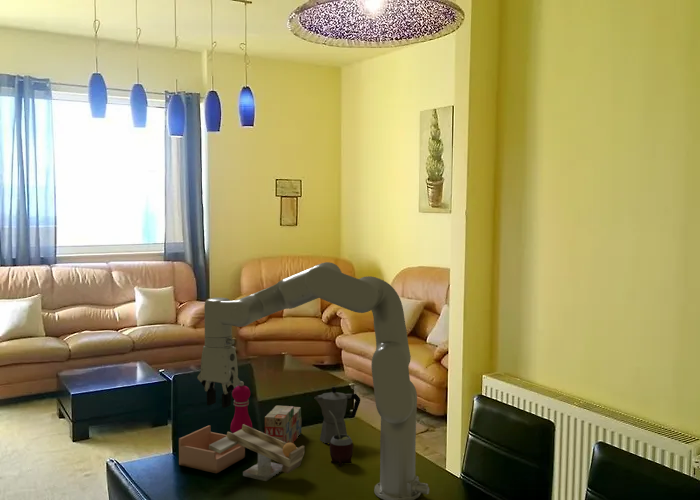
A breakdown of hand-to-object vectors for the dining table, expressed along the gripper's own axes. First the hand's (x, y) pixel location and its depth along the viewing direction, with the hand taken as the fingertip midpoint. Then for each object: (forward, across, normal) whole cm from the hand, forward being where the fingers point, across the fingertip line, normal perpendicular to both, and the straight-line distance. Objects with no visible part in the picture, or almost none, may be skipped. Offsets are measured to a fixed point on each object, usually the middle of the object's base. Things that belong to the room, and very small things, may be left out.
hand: (218, 404), depth 190 cm
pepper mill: (+22, +13, -28) cm, 38 cm away
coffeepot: (+22, -15, -44) cm, 51 cm away
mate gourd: (+22, -25, -26) cm, 42 cm away
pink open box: (+21, +10, -10) cm, 25 cm away
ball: (+13, -18, -10) cm, 24 cm away
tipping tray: (+16, -9, -5) cm, 19 cm away
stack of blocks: (+22, -1, -33) cm, 39 cm away
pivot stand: (+21, -9, -10) cm, 25 cm away
